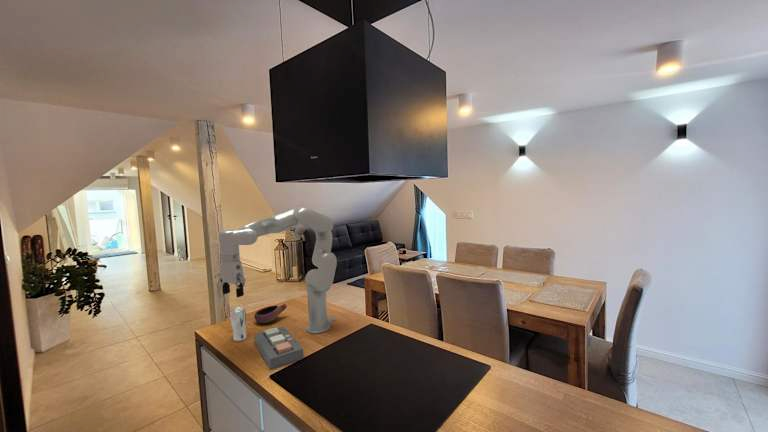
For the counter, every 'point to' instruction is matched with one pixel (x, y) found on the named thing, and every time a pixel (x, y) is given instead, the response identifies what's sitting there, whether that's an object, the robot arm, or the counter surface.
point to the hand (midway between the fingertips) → (233, 294)
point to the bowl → (269, 313)
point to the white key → (276, 340)
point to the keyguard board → (271, 355)
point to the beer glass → (238, 323)
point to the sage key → (271, 332)
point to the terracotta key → (283, 348)
